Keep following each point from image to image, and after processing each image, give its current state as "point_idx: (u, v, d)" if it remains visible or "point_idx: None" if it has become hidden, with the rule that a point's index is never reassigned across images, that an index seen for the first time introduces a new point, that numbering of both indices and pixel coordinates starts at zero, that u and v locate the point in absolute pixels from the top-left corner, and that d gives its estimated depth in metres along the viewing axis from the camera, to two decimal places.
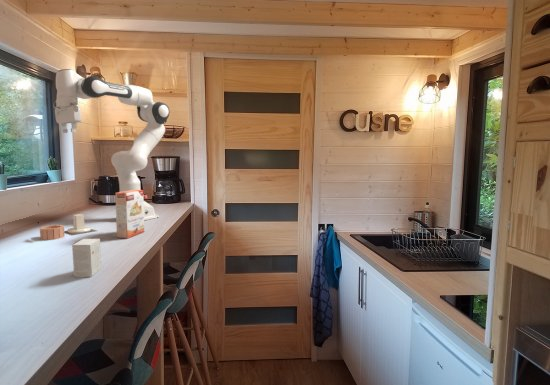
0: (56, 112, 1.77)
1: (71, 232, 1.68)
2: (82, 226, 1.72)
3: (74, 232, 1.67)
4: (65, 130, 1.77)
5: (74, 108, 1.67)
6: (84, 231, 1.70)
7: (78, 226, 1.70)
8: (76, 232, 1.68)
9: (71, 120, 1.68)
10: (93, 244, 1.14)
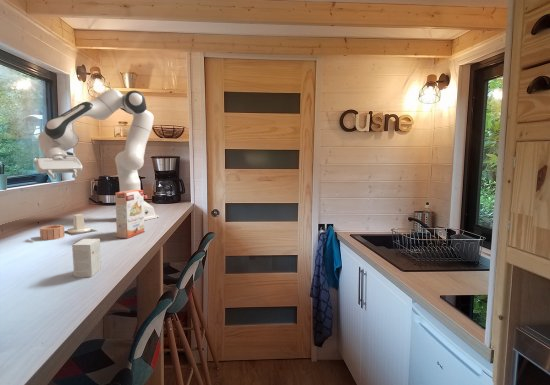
0: None
1: (71, 232, 1.68)
2: (82, 226, 1.72)
3: (74, 232, 1.67)
4: (72, 175, 1.80)
5: None
6: (84, 231, 1.70)
7: (78, 226, 1.70)
8: (76, 232, 1.68)
9: None
10: (93, 244, 1.14)
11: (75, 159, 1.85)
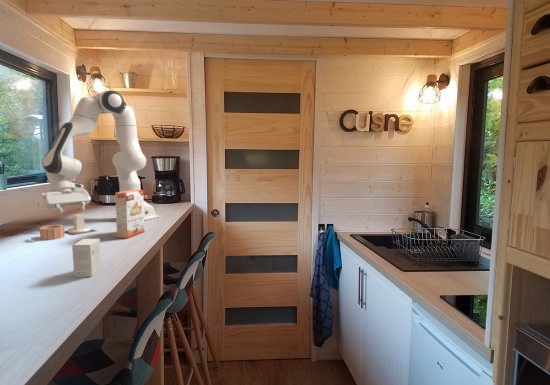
0: None
1: (71, 232, 1.68)
2: (82, 226, 1.72)
3: (74, 232, 1.67)
4: (81, 208, 1.78)
5: (44, 197, 1.71)
6: (84, 231, 1.70)
7: (78, 226, 1.70)
8: (76, 232, 1.68)
9: None
10: (93, 244, 1.14)
11: (83, 191, 1.83)
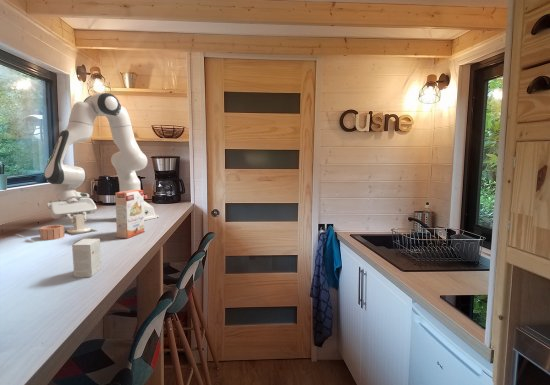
0: None
1: (71, 232, 1.68)
2: (82, 226, 1.72)
3: (74, 232, 1.67)
4: None
5: None
6: (84, 231, 1.70)
7: (78, 226, 1.70)
8: (76, 232, 1.68)
9: None
10: (93, 244, 1.14)
11: (89, 200, 1.80)
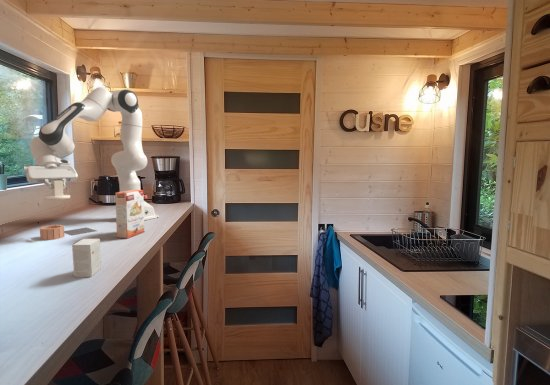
0: None
1: (48, 198, 1.57)
2: (61, 193, 1.61)
3: (51, 198, 1.57)
4: None
5: None
6: (62, 198, 1.59)
7: (56, 192, 1.60)
8: (53, 198, 1.57)
9: None
10: (93, 244, 1.14)
11: (70, 167, 1.70)
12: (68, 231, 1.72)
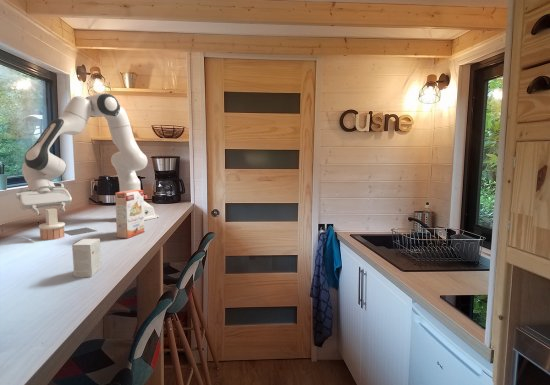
0: None
1: (42, 228, 1.55)
2: (55, 221, 1.59)
3: (46, 228, 1.55)
4: (60, 210, 1.62)
5: None
6: (57, 227, 1.57)
7: (50, 221, 1.57)
8: (48, 228, 1.55)
9: None
10: (93, 244, 1.14)
11: (63, 190, 1.67)
12: (68, 231, 1.72)
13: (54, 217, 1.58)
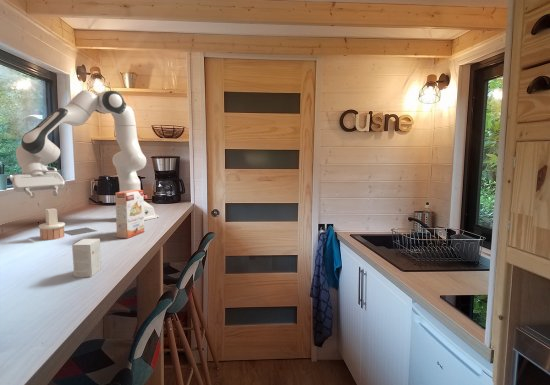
0: None
1: (42, 228, 1.55)
2: (55, 221, 1.59)
3: (46, 228, 1.55)
4: (53, 193, 1.66)
5: None
6: (57, 227, 1.57)
7: (50, 221, 1.57)
8: (48, 228, 1.55)
9: None
10: (93, 244, 1.14)
11: (56, 174, 1.71)
12: (68, 231, 1.72)
13: (54, 217, 1.58)
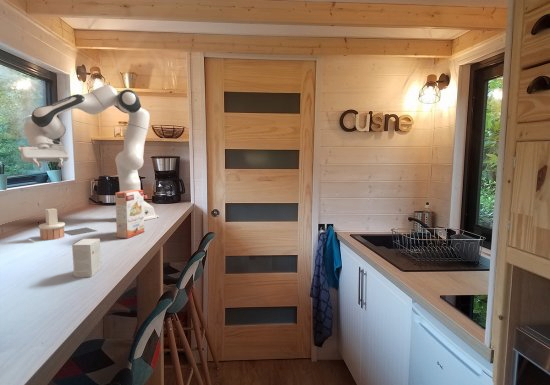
0: None
1: (42, 228, 1.55)
2: (55, 221, 1.59)
3: (46, 228, 1.55)
4: (58, 164, 1.78)
5: None
6: (57, 227, 1.57)
7: (50, 221, 1.57)
8: (48, 228, 1.55)
9: None
10: (93, 244, 1.14)
11: (61, 148, 1.83)
12: (68, 231, 1.72)
13: (54, 217, 1.58)
